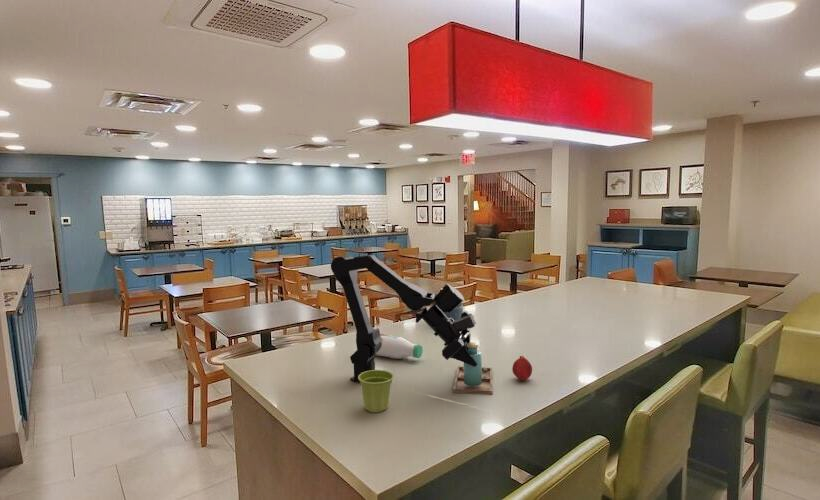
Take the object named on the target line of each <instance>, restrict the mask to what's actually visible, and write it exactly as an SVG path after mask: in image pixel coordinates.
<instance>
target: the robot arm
mask: <svg viewBox="0 0 820 500" xmlns="http://www.w3.org/2000/svg"><path fill="white" fill-rule="evenodd" d="M330 269H331V272H332V274H333V276H334V278H335V279H336V280H337V281H338V283H339V284H340V285H341V286H342V289H343V291H344V292H343V293H344V295H345V298H346V302H347V305H348V309H349V312H350V314H351V317H352V320H353V324H354V326H355V329H356V331H355V333H356V335H355V336H356V337H355V344H356V350H355V351H354V352H353V353H352V354H351V355H350V356H349V359H350V362H351V364H352V365H353V376H352V377H349V378H350V381H352V382H357V383H360V381H359V379H358V376H359V375H360V374H361V373H363V372H366V371H370V370H376V363H375V357H376V356H377V355H376V353H377V352H378V351H379V350H380V348H381V346H382V342H381V341H382V340H383V339H382V338H381V336H380V334H381V332H380V328H379V327H378V328H376V329H375V328H374V327H373V326H372V324H371V321H370V318H369V316H368V311H367V309H366V306H365V302H364V300H363V297H362V293H361V291H360V288H359V284H358V270H363V269H366V270H368V271H369V272H370V273H372V274H373V275H374V276H375V277H377V278H378V279H379V280H380V281H382V282H383V283H384V284H385V285H387V287H389V288H390V289H391V290H392V291H394V292H395V293H396V294H397V295H398V297H399V299H400V300H401V301H402V302H403V304H404V305H405V306H406V307H407V308H408V309H410V310H411V311H417V312H415V323H419V322H420V321H421V320H423V321H424V322H425V323H426V325H428V326H429V328H430V329H431V330H432V331H433V332H434V333H433V335H434V336H435V337H437V336H438V337H439V338H440V339H441V340H442V341H443V342H444V343H443V345H444V347H443V349H442V350H441V355H442V357H443V358H444V359H445V360H446V361H448V360H449V359H454V360H457V361H459V362H462V363H463V364H464V363H467V364H469V365H471V366H474V367H476V366H477V363H476V361H475V360H474V358H473V357H472V355H471V354H470V353H469V351H468V347H467V343H470V342H471V335H472V334H471V329H473V328H474V327H476V324H477V323H476V320H475V316H474V315H473V313H469V312H468V311H463V313H462V314H461V318H459V319H457V320H454V319H453V318H451V317H450V318H448V317H446V315H445V314H444V313H443V312H445V313H446V312H449V313H451V312H452V311H453V310H454V309H455V308H456V307H457V306H458V305H459V304H460V303H461V302H462V303H463V301H465V298H464V296H463V294H462V293H461V292H460V291H459V289H456V288H455V287H454V286H453V285H450V284H449V283H445V285H444V286H443V287H442V289H441V290H440V291H439V292H437V293H438V294H437V293H433V292H428V291H426V290H425V289H424V288H422V287H421V286H418V285H417V284H413V283H412V282H409V281H407V280H406V279H404V278H402V277H401V276H400V275H399V274H397V273H396V272H395V271H393V270H392V269H391V268H390V267H389V266H387V265H386V264H385V263H383V262H382V261H381V260H380V259H379V258H377V257H376V255H374V254H366V255H363V256H361V255H360V256H355V257H354V256H352V255H350V254H345V255H340V256H337V257H336V256H335V258H333V260H332V261H331V263H330ZM433 302H435V303H433ZM432 303H433V305H432V306H431V304H432ZM436 305H437V306H438V307H439V308H440V309H439V308H438V307H437V306H436ZM422 308H423V309H422ZM421 309H422V310H421ZM419 310H421V311H419ZM441 310H442V311H443V312H442V311H441Z"/></svg>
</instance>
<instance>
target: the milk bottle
mask: <svg viewBox="0 0 820 500" xmlns="http://www.w3.org/2000/svg"><path fill="white" fill-rule="evenodd" d="M380 336H381V338H382V339H383V340H382V341H381V342H382V346H381V348H380V350H379V351H378V352H377V353H376V355H375V356H379V357H385V358H390V359H397V360H399V359H400V360H401V359H405V358H409V357H412V358H415V359H420V358H421V357H422V355H423V351H424V349H423V346H422V345H421V344H419V343H418V344H417V343H415V344H413V343H412V342H410V341H408V340H407V339H405V338H403V337H400V336H395V335H389V334H383V333H380Z"/></svg>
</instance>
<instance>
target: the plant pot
mask: <svg viewBox="0 0 820 500" xmlns="http://www.w3.org/2000/svg"><path fill="white" fill-rule="evenodd" d="M394 377H395V375H394V373H393V372H390V371H388V370H382V369H375V370H370V371H366V372H363V373H361V374H360V375H359V376H358V379H359V381H360V382H359V384H360V386H361V391H362V398H363V405H364V409H365V410H366V411H368V412H369V413H381V412H383V411H386V410H388V408H389V402H390V401H389V399H390V393H391V392H390V391H391V387H392V386H391V385H392V382H393V380H394Z"/></svg>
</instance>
